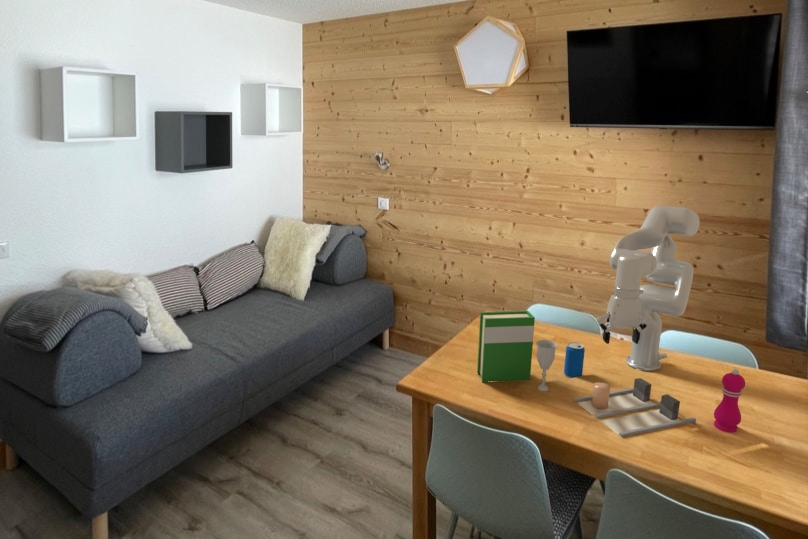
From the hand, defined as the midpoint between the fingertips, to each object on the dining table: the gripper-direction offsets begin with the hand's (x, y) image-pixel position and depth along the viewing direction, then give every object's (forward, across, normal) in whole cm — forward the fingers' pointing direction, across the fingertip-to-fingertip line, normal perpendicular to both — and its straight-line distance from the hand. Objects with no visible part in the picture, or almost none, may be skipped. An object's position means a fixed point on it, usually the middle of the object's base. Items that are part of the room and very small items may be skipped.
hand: (620, 342), depth 183 cm
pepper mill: (+20, -26, +21) cm, 39 cm away
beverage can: (+20, +9, -16) cm, 27 cm away
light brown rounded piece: (+18, +8, +9) cm, 22 cm away
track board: (+20, -1, +12) cm, 23 cm away
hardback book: (+20, +35, -16) cm, 43 cm away
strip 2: (+19, -1, +18) cm, 26 cm away
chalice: (+20, +24, -4) cm, 31 cm away
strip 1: (+19, +3, +7) cm, 20 cm away
